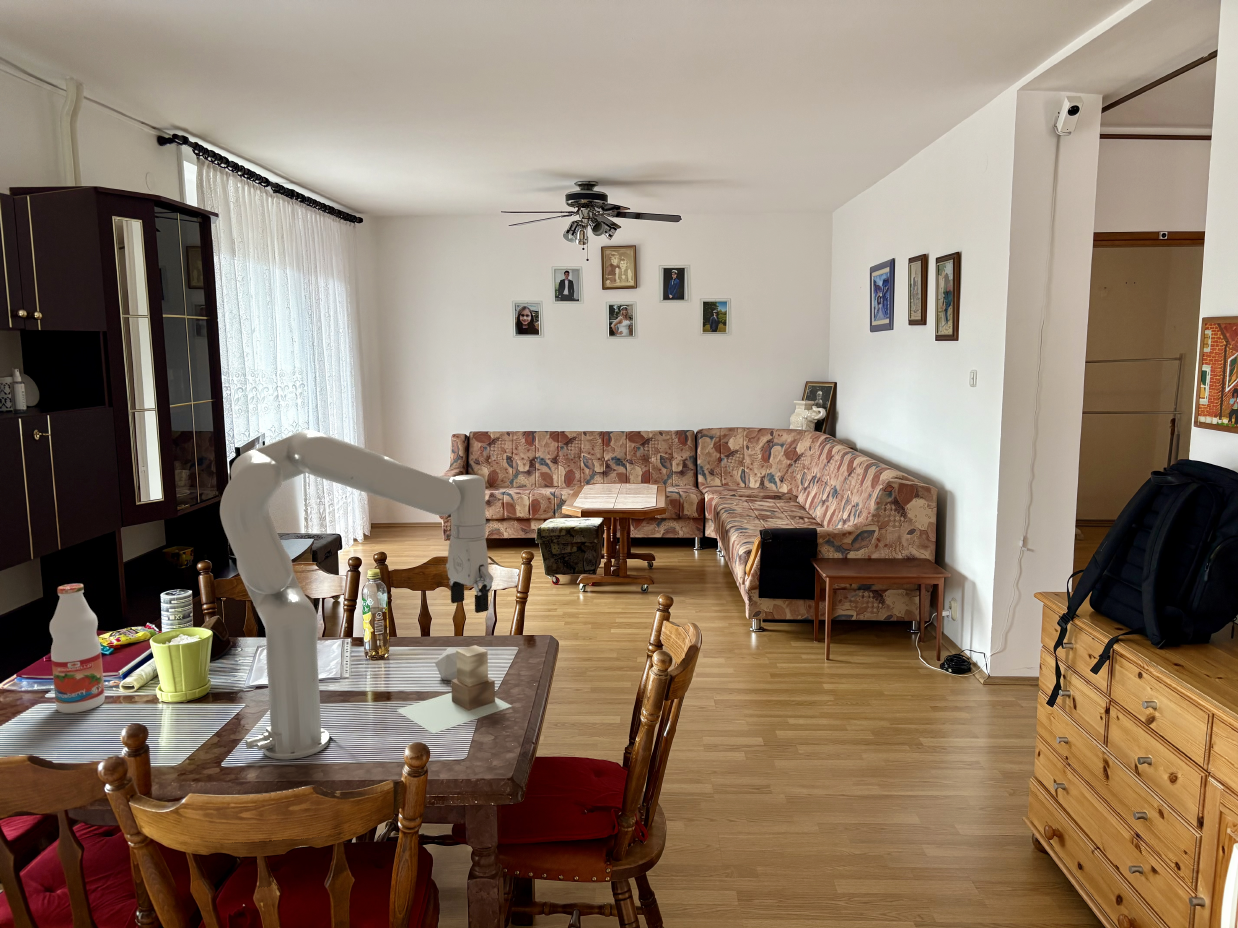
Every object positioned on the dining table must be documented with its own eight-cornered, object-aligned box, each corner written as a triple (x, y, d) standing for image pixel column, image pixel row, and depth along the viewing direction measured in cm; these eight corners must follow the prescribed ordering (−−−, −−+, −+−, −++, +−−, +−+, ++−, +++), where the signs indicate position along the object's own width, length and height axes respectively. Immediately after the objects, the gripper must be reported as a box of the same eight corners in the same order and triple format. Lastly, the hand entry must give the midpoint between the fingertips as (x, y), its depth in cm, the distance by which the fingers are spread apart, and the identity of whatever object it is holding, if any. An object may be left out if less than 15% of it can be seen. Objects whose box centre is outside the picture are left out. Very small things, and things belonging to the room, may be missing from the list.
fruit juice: (109, 694, 195) (99, 578, 191) (99, 710, 186) (89, 589, 183) (62, 700, 192) (52, 582, 188) (50, 716, 183) (39, 593, 179)
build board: (433, 737, 172) (433, 733, 172) (396, 714, 183) (395, 709, 183) (512, 710, 185) (512, 705, 185) (472, 689, 197) (472, 685, 197)
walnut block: (468, 710, 183) (468, 688, 182) (451, 701, 188) (451, 680, 187) (495, 701, 187) (494, 680, 187) (478, 692, 192) (477, 672, 192)
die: (480, 680, 205) (468, 643, 208) (471, 675, 197) (459, 637, 200) (449, 692, 204) (438, 656, 208) (439, 688, 196) (427, 650, 200)
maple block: (469, 686, 183) (468, 656, 183) (457, 680, 187) (456, 650, 186) (488, 680, 187) (487, 650, 186) (476, 674, 190) (475, 645, 190)
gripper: (433, 527, 186) (434, 601, 188) (475, 539, 174) (476, 618, 176) (461, 523, 191) (462, 595, 193) (505, 535, 179) (505, 612, 181)
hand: (469, 606), depth 185 cm, fingers open, 9 cm apart
